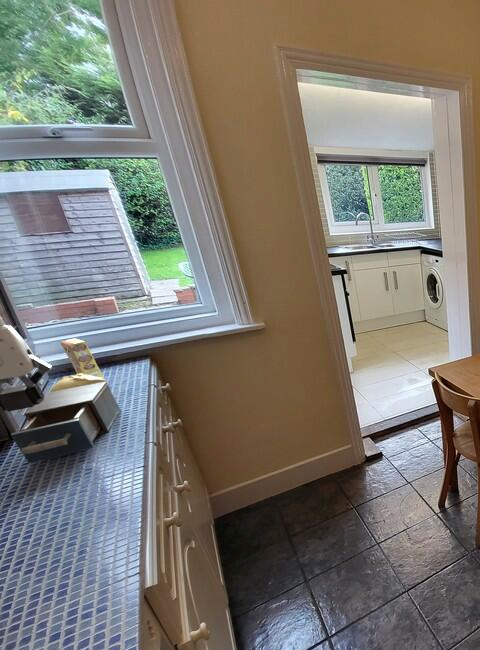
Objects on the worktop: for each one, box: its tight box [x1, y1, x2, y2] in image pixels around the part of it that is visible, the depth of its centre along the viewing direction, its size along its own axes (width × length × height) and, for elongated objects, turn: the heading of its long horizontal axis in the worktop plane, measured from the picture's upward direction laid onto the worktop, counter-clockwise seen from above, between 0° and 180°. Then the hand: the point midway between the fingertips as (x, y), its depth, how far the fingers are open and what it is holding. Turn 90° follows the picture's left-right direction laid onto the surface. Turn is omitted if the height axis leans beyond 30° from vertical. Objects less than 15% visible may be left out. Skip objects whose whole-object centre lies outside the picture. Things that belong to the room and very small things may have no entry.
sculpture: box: [50, 373, 107, 392], centre depth 122 cm, size 11×12×11 cm
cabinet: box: [23, 381, 121, 435], centre depth 111 cm, size 15×13×10 cm
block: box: [0, 384, 35, 413], centre depth 89 cm, size 4×4×4 cm
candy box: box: [60, 338, 106, 381], centre depth 139 cm, size 9×4×15 cm, turn 61°
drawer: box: [10, 403, 102, 464], centre depth 100 cm, size 18×11×8 cm, turn 32°
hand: (24, 404), depth 89 cm, fingers closed on block, 4 cm apart
